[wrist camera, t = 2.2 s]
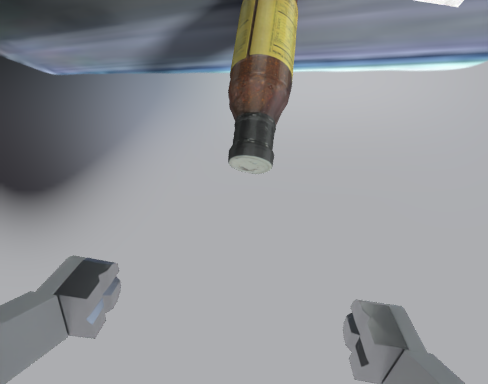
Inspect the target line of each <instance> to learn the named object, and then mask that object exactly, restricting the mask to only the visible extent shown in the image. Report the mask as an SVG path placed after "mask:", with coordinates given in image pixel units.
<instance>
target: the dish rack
mask: <svg viewBox="0 0 488 384" xmlns="http://www.w3.org/2000/svg"><path fill="white" fill-rule="evenodd" d="M415 1H422V2H428V3H434V4H440V5H447V6H453V7H459V5H460V4H461V3H462V2H463V1H464V0H415Z"/></svg>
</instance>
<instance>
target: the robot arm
mask: <svg viewBox="0 0 488 384" xmlns="http://www.w3.org/2000/svg"><path fill="white" fill-rule="evenodd" d="M118 272H119V268H118V264H116V263H114V262H108V261H103V260H97V259H91V258H85V257H79V256H71V257H69V258H67V259H66V260H65V261H64V262H63V263H62V264H61V265H60V267H59V268H58V269H57V270H56V271H55V272H54V273H53V274H52V275H51V276H50V277H49V278H48V279H47V280H46V281H45V282H44V283H43V284H42V285H41V286H40V287H39V288H38V290H37V291H36V292H31V291H30V292H28V293H26V294H24V295H22V296H20V297H18V298H15V299H13V300H11V301H9V302H7V303H5V304H3V305H1V306H0V384H6V383H7V382H8V381H10V380H11V379H12V378H13V377H15V376H16V375H18V374H19V373H20V372H22V371H23V370H24V369H26V368H27V367H29V366H30V365H31V364H32V363H34V362H35V361H37V360H38V359H39V358H40V357H42V356H43V355H44V354H46V353H47V352H49V351H50V350H51V349H53V348H54V347H55V346H57V345H58V344H59V343H61V342H62V341H63V340H65V339H66V338H67V337H68V335H70V336H78V337H85V338H94V339H95V338H96V336H97V334H98V333H99V331H100V329H101V328H102V326H103V324H104V323H105V321H106V317H105V313H107V312H108V311H110V310H111V309H113V308H114V306H115V304H116V302H117V300H118V297H119V294H120V288H121V284H120V280H119V279H118V278H117V277H116V275H117V274H118ZM351 310H352V313H351V314H349V315H347V316H346V319H345V321H344V327H343V334H344V340H345V345H346V346H347V347H348V348H349V349H350V351H351V352H352V353H351V355H350V357H349V360H350V364H351V368H352V372H353V376H354V379H355V380H360V381H365V382H371V383H376V384H465V383H464V382H463V381H462V380H461V379H460V378H459V377H457V376H456V375H455V374H454V373H453V372H452V371H451V370H450V369H449V368H447V367H446V366H445V365H444V364H443V363H442V362H441V361H440V360H438V359H437V358H436V357H435V356H434V355H433V354H430V353H427V351H426V349H425V347H424V345H423V343H422V342H421V340H420V338H419V336H418V334H417V332H416V330H415V328H414V326H413V324H412V322H411V320H410V319H409V317H408V315H407V313H406V311H405V309H404V308H403V307H402V306H397V305H390V304H384V303H377V302H370V301H362V300H355V301H353V303H352V305H351Z"/></svg>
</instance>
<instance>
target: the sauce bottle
mask: <svg viewBox="0 0 488 384" xmlns="http://www.w3.org/2000/svg"><path fill="white" fill-rule="evenodd" d="M297 19H298V8H297V0H243V2H242V6H241V11H240V16H239V23H238V29H237V35H236V41H235V48H234V54H233V60H232V66H231V72H230V78H231V80H230V85H229V90H228V91H229V92H228V93H229V100H230V104H229V105H230V110H231V112H232V114H233V117H234V119H235V132H234V139H233V145H232V147H231V148H230V150H229V159H228V162H229V165H230V166H231V167H232V168H234V169H236V170H238V171H241V172H247V173H252V174H260V173H265V172H267V171H269V170H270V169H271V168H272V165H273V159H274V154H273V151H272V148H273V139H274V133H275V130H276V124H277V122H278V120H279V117H280V115H281V113H282V111H283V110H284V108H285V107H286V105H287V103H288V99H289V95H290V92H291V87H292V76H293V64H294V54H295V43H296V30H297Z"/></svg>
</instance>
